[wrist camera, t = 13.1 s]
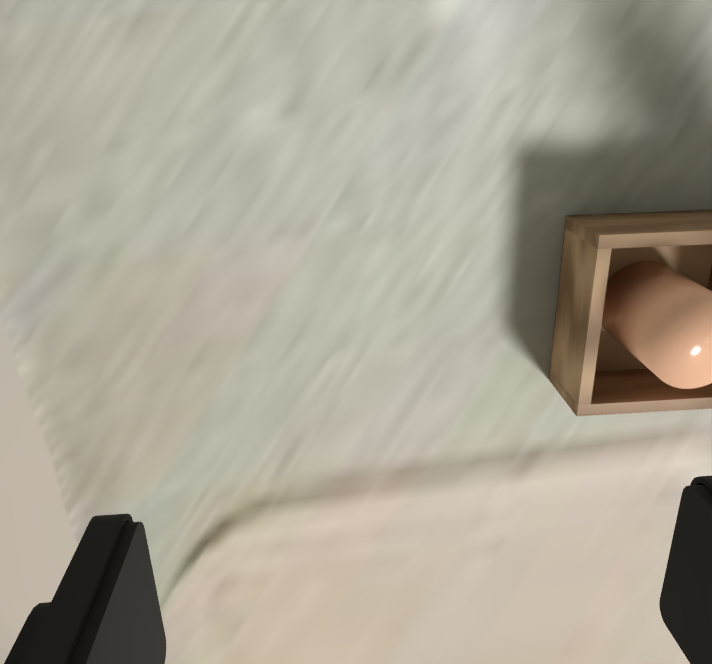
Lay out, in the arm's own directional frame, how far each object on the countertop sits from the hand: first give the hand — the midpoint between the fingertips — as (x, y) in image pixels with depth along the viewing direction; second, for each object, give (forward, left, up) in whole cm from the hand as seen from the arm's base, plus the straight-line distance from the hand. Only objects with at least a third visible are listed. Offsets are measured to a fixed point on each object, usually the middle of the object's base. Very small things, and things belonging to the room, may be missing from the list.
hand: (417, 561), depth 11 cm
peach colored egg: (+7, +20, -30) cm, 36 cm away
